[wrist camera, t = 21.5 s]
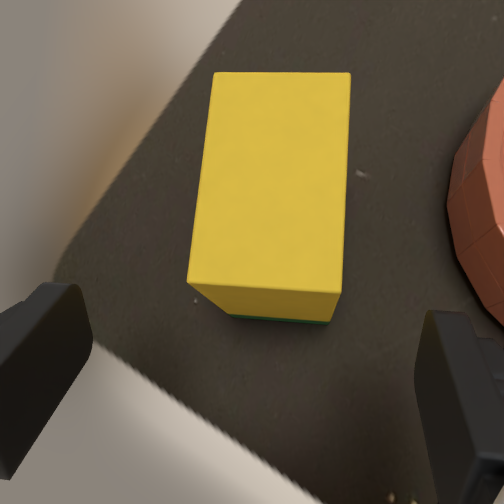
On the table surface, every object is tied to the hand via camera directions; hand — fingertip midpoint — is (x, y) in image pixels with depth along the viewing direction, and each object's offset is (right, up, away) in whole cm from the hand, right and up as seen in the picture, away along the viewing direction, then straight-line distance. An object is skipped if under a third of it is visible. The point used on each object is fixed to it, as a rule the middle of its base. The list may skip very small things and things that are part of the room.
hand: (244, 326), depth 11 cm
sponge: (+2, +2, +11) cm, 11 cm away
